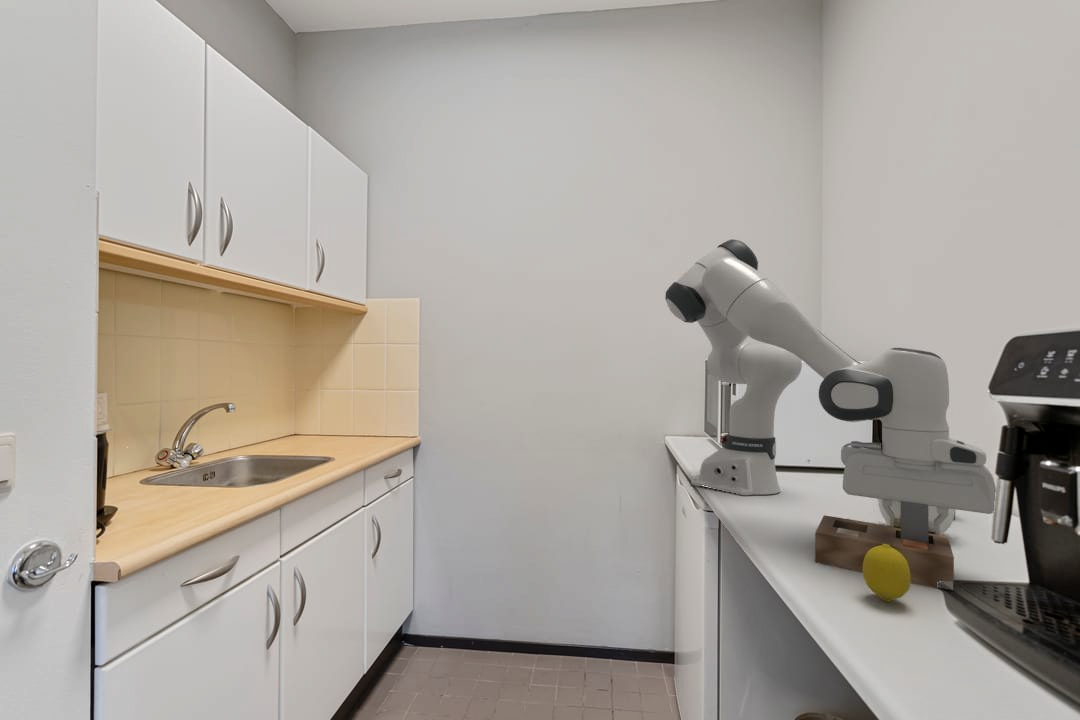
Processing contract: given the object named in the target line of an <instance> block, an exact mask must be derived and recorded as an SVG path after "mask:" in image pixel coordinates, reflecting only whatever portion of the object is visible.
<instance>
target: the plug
mask: <svg viewBox="0 0 1080 720" xmlns="http://www.w3.org/2000/svg"><path fill="white" fill-rule="evenodd" d="M901 539H906V540H912V541H918V542H924V543H928V505H927V504H919V503H912V502H904V501H901Z"/></svg>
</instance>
